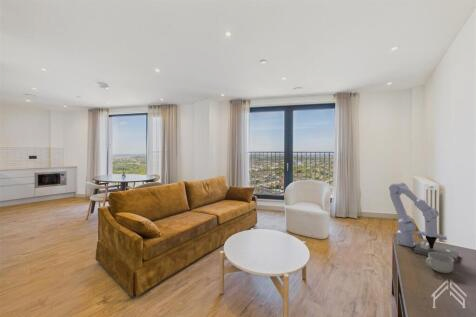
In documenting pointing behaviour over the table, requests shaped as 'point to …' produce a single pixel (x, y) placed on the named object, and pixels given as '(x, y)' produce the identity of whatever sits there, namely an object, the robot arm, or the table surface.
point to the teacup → (440, 262)
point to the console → (438, 250)
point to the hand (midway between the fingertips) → (431, 247)
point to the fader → (425, 245)
